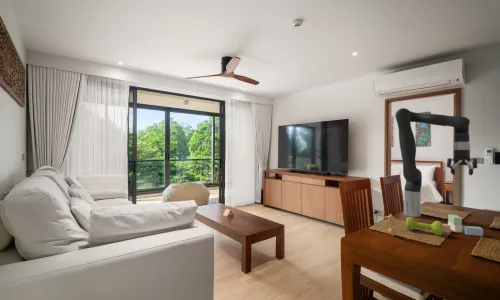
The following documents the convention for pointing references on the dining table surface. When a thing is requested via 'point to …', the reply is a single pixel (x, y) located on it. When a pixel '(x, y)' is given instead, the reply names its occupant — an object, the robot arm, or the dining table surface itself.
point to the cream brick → (455, 227)
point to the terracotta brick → (446, 228)
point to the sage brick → (454, 219)
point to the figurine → (390, 230)
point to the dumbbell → (424, 226)
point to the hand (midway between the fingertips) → (461, 174)
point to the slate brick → (473, 230)
